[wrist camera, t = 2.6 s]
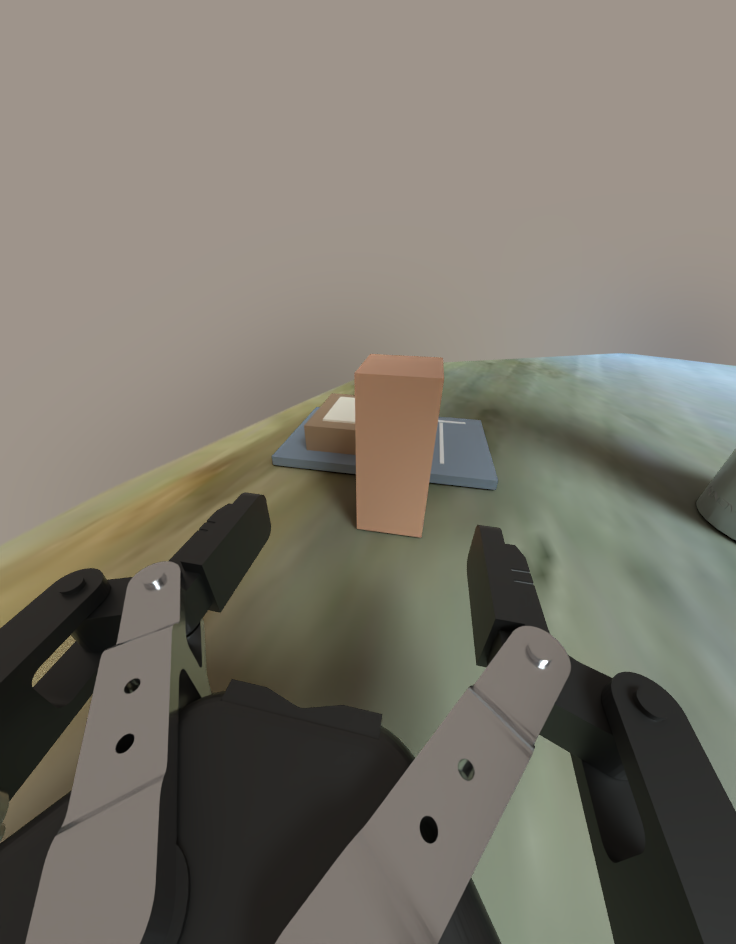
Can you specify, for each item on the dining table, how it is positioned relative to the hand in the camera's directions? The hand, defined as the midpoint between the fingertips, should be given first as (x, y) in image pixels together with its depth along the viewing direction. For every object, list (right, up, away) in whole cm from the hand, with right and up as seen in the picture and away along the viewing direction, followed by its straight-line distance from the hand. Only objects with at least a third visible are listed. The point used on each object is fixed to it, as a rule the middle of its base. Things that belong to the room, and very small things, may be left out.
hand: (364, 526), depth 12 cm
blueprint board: (+2, +5, +24) cm, 25 cm away
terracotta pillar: (+2, -1, +14) cm, 14 cm away
